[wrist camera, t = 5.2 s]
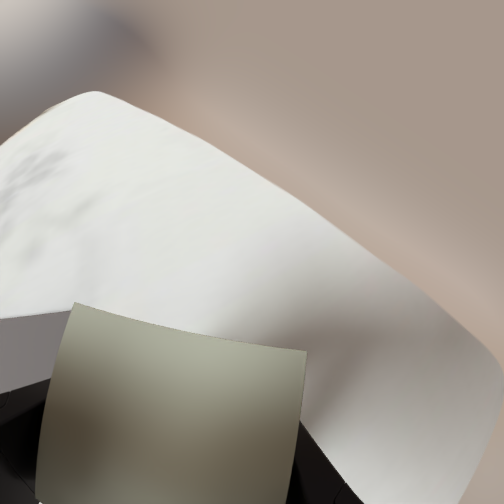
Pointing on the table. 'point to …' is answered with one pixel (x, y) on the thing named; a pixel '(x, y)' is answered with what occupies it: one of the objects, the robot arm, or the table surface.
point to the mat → (29, 348)
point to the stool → (166, 416)
